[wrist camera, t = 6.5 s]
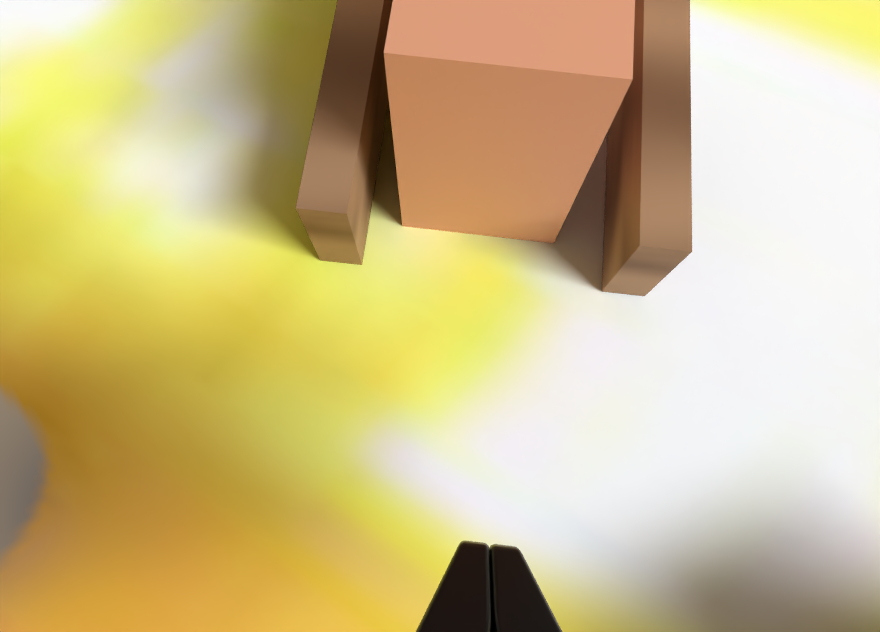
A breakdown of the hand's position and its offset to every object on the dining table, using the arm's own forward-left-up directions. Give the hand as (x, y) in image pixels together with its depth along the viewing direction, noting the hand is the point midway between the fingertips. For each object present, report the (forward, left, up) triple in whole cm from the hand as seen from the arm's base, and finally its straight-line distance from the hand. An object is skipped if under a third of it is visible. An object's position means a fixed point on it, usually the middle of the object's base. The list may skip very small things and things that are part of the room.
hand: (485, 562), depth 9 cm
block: (+11, +14, -11) cm, 21 cm away
